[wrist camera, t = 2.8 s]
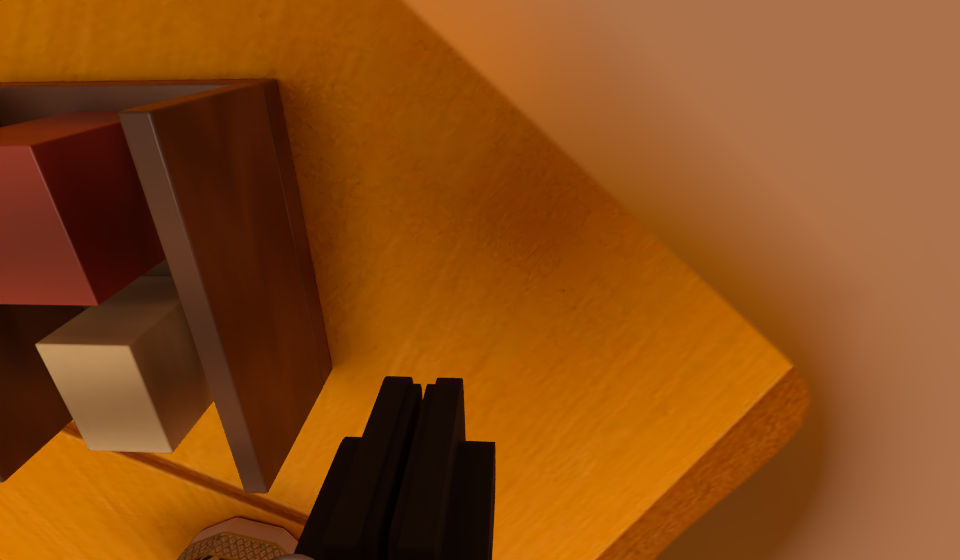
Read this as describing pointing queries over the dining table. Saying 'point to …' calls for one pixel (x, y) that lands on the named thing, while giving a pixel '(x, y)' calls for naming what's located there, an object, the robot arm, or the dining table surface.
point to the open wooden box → (154, 270)
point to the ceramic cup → (240, 542)
